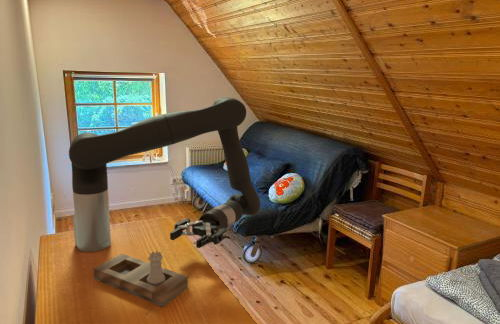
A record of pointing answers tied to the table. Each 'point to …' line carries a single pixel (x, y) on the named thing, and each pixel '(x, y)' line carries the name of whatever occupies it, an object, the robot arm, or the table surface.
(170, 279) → the slot rail
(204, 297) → the table surface
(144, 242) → the table surface
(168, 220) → the table surface
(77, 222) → the robot arm
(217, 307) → the table surface
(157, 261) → the rook chess piece
